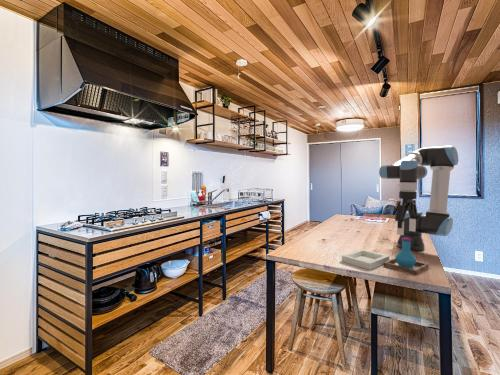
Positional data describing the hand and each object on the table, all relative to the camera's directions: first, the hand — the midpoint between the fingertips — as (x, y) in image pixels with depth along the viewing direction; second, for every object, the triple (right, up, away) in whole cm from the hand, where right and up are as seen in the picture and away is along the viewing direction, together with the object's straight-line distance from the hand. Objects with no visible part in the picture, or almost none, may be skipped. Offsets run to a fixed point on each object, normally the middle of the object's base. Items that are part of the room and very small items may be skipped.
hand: (406, 232), depth 132 cm
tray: (-16, -17, +10) cm, 26 cm away
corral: (0, -18, +1) cm, 18 cm away
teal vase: (0, -18, +1) cm, 18 cm away
